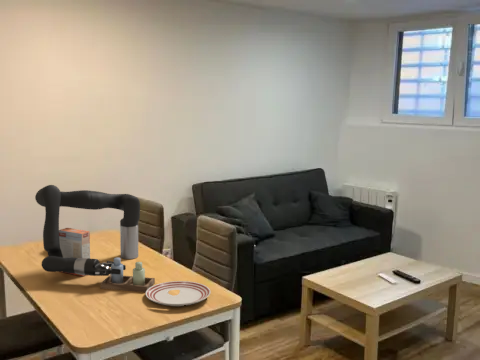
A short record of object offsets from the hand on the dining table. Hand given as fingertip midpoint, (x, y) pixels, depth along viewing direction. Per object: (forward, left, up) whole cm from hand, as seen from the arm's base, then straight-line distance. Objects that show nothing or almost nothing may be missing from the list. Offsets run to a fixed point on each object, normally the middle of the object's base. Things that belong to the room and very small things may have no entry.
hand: (122, 269), depth 226 cm
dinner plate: (+7, +27, -8) cm, 30 cm away
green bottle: (0, +7, -7) cm, 10 cm away
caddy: (0, +2, -8) cm, 8 cm away
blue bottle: (0, -3, -6) cm, 7 cm away
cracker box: (-12, -29, -8) cm, 32 cm away
